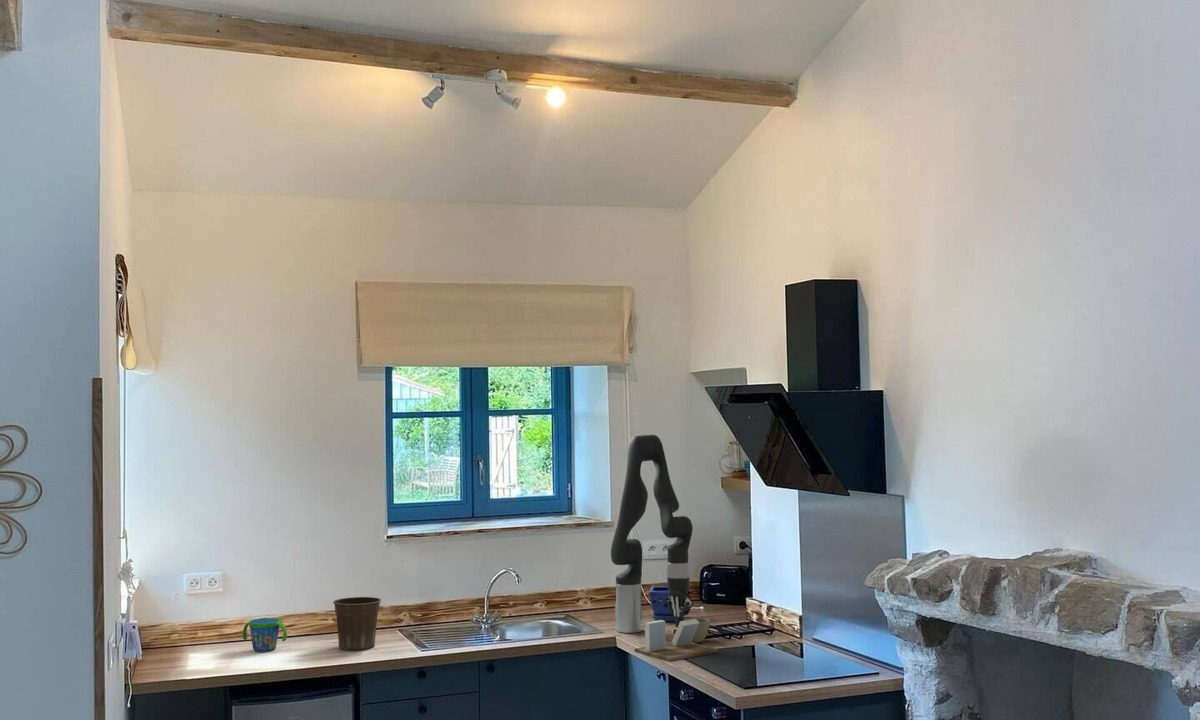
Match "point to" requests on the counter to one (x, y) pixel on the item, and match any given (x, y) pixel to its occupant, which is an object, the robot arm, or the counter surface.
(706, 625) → the flower pot
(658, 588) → the flower pot
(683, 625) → the tile far
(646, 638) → the tile near
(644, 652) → the board
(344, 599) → the plant pot
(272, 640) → the snack cup
